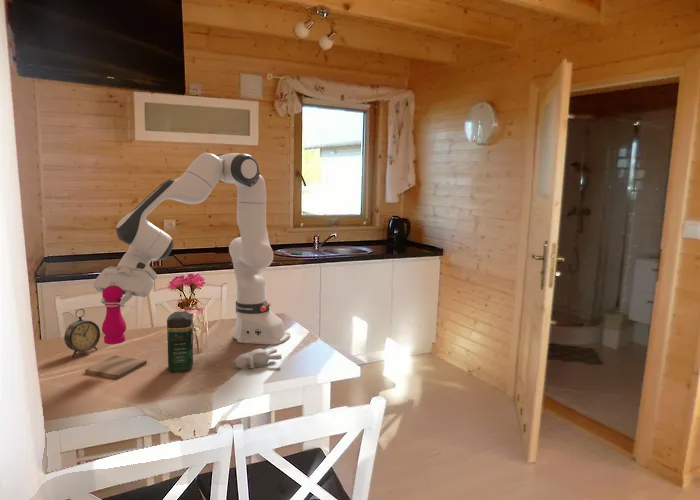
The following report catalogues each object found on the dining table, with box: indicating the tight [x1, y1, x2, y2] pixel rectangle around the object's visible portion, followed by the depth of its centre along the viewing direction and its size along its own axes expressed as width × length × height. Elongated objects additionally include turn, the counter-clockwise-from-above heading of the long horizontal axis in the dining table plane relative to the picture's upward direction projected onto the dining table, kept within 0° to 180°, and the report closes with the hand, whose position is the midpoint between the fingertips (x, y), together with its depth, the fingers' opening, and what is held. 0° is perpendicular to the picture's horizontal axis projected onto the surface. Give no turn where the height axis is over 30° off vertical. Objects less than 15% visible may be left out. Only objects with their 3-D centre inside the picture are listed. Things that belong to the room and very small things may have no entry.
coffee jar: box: [166, 311, 194, 373], centre depth 167 cm, size 10×8×19 cm
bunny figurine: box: [233, 348, 283, 371], centre depth 172 cm, size 10×5×15 cm
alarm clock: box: [63, 308, 101, 358], centre depth 178 cm, size 11×5×16 cm, turn 148°
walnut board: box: [84, 355, 148, 380], centre depth 167 cm, size 13×13×1 cm
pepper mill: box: [101, 281, 127, 345], centre depth 164 cm, size 7×7×20 cm
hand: (111, 304), depth 163 cm, fingers closed on pepper mill, 5 cm apart
